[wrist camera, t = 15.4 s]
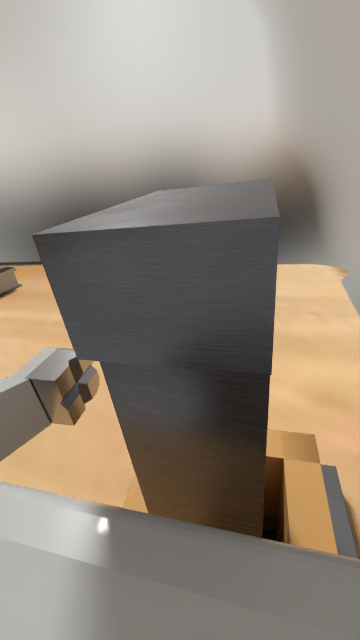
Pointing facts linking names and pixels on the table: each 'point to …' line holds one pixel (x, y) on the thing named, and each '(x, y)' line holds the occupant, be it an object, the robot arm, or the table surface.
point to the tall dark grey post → (180, 338)
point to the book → (7, 280)
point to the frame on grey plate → (295, 496)
